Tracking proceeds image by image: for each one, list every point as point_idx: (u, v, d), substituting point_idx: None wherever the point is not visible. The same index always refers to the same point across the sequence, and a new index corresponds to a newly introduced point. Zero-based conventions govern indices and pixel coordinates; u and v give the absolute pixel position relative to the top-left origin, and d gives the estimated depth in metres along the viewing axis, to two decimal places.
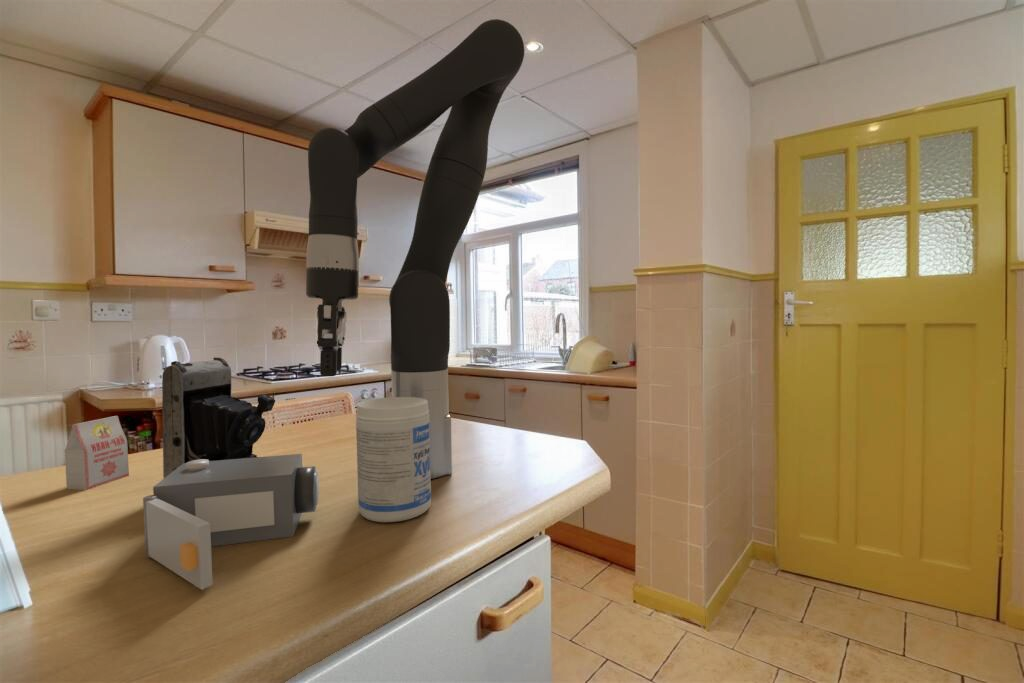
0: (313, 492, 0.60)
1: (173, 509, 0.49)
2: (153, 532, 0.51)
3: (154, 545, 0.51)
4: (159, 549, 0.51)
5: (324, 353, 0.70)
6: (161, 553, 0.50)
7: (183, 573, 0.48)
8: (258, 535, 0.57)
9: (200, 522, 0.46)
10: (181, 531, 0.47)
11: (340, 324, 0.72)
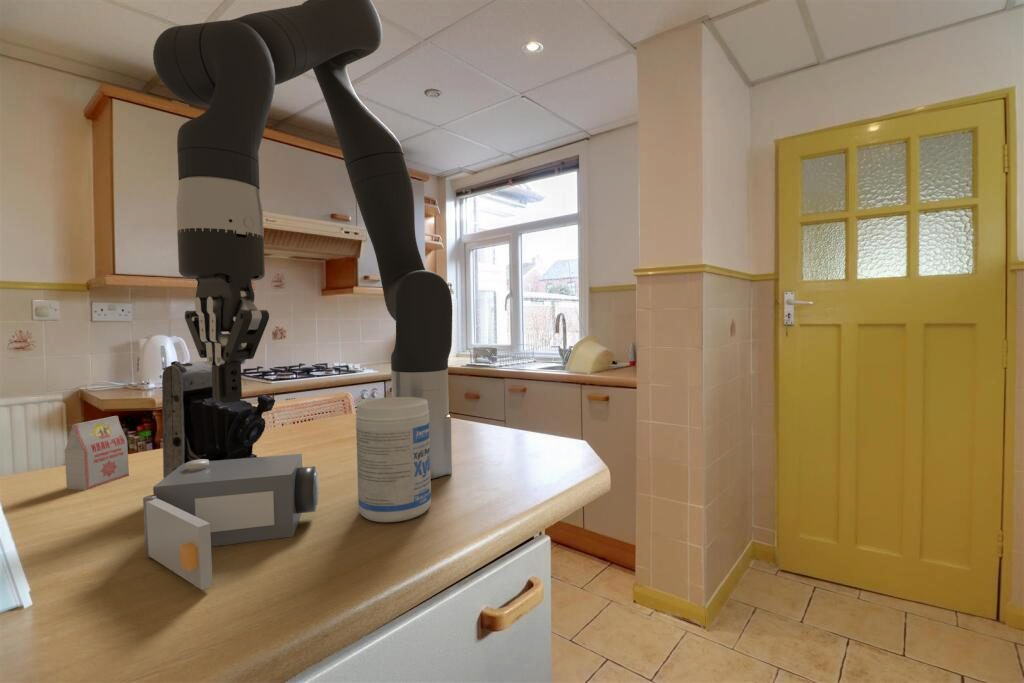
0: (313, 492, 0.60)
1: (173, 509, 0.49)
2: (153, 532, 0.51)
3: (154, 545, 0.51)
4: (159, 549, 0.51)
5: None
6: (161, 553, 0.50)
7: (183, 573, 0.48)
8: (258, 535, 0.57)
9: (200, 522, 0.46)
10: (181, 531, 0.47)
11: None
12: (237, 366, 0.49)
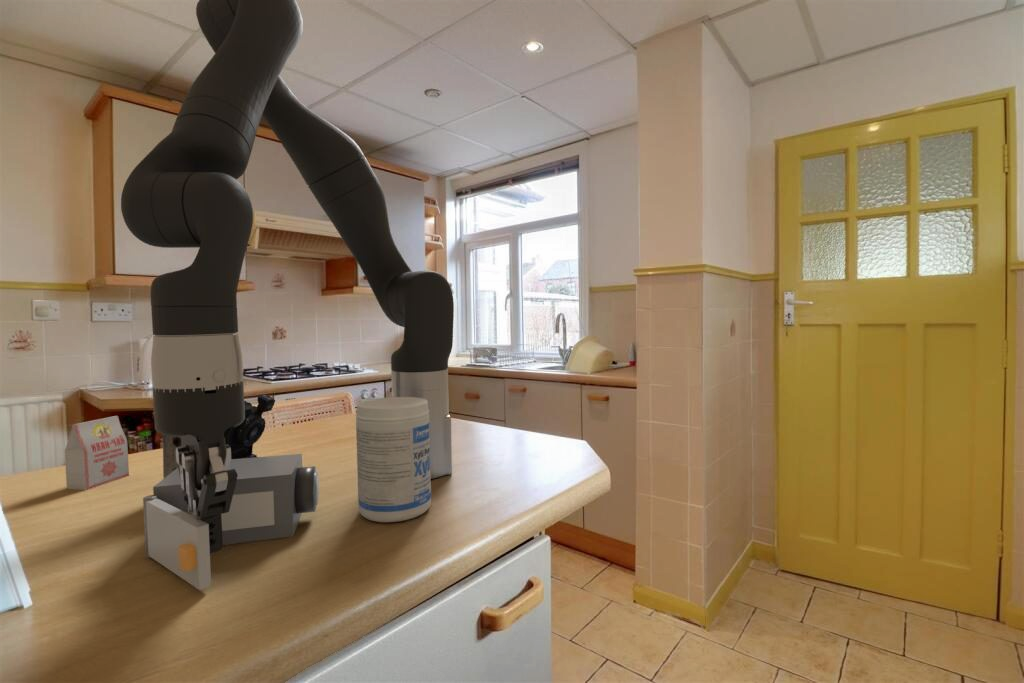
0: (313, 492, 0.60)
1: (173, 510, 0.49)
2: (153, 532, 0.51)
3: (154, 545, 0.51)
4: (159, 549, 0.51)
5: None
6: (161, 553, 0.50)
7: (182, 574, 0.48)
8: (258, 535, 0.57)
9: (199, 523, 0.46)
10: (180, 531, 0.47)
11: None
12: (215, 518, 0.48)
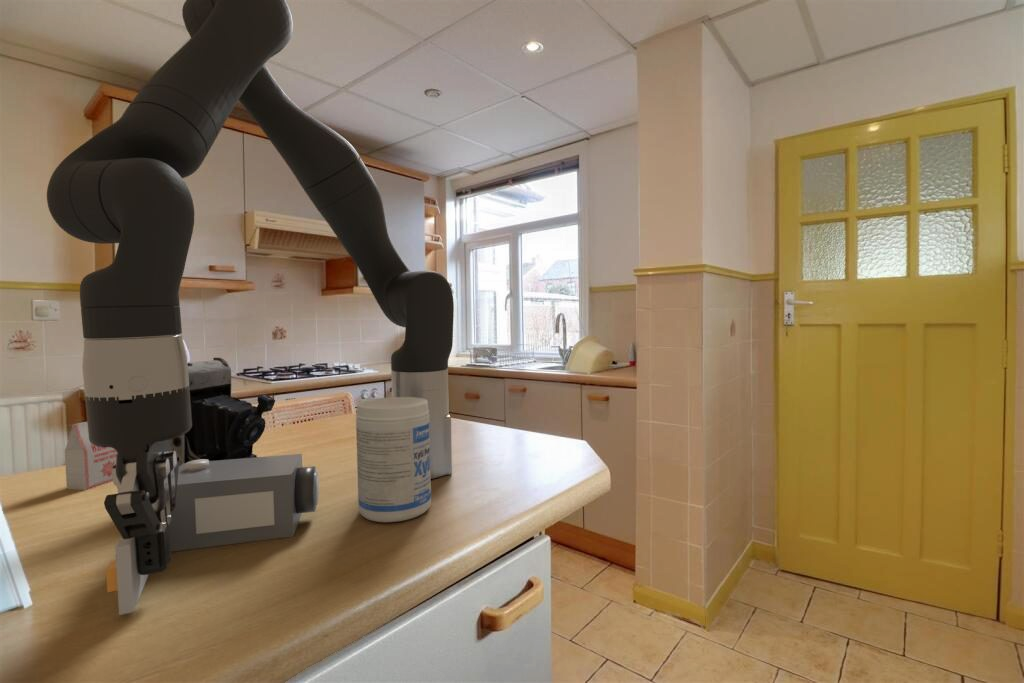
0: (313, 492, 0.60)
1: None
2: None
3: None
4: None
5: None
6: None
7: None
8: (258, 535, 0.57)
9: (125, 541, 0.43)
10: None
11: None
12: (151, 537, 0.44)
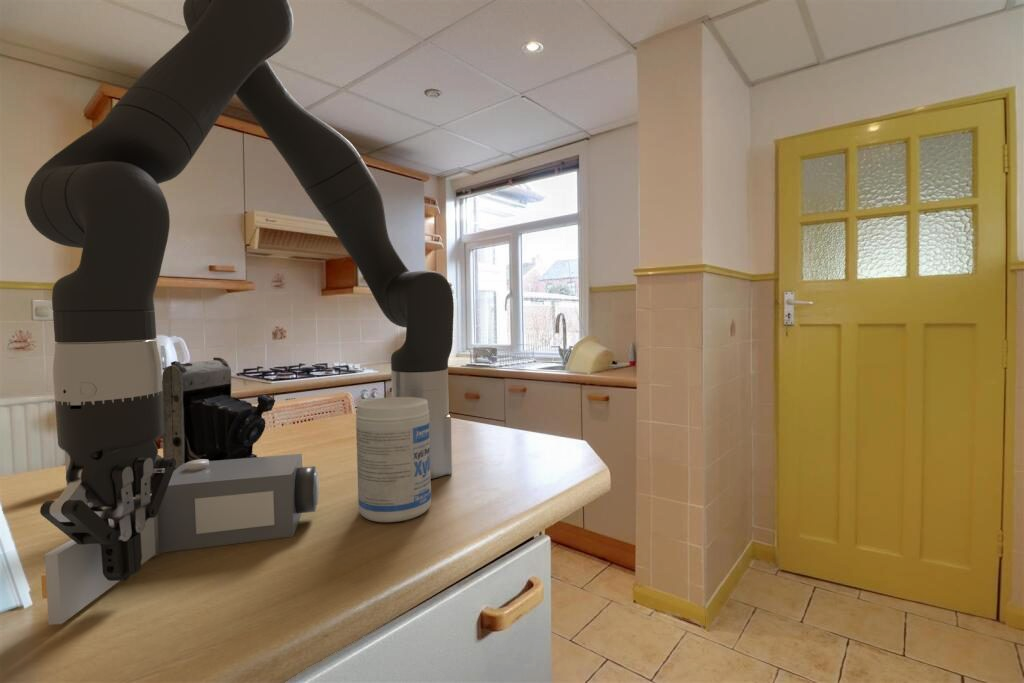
0: (313, 492, 0.60)
1: None
2: None
3: None
4: None
5: (138, 533, 0.46)
6: None
7: None
8: (258, 535, 0.57)
9: (60, 549, 0.41)
10: None
11: None
12: (112, 545, 0.43)
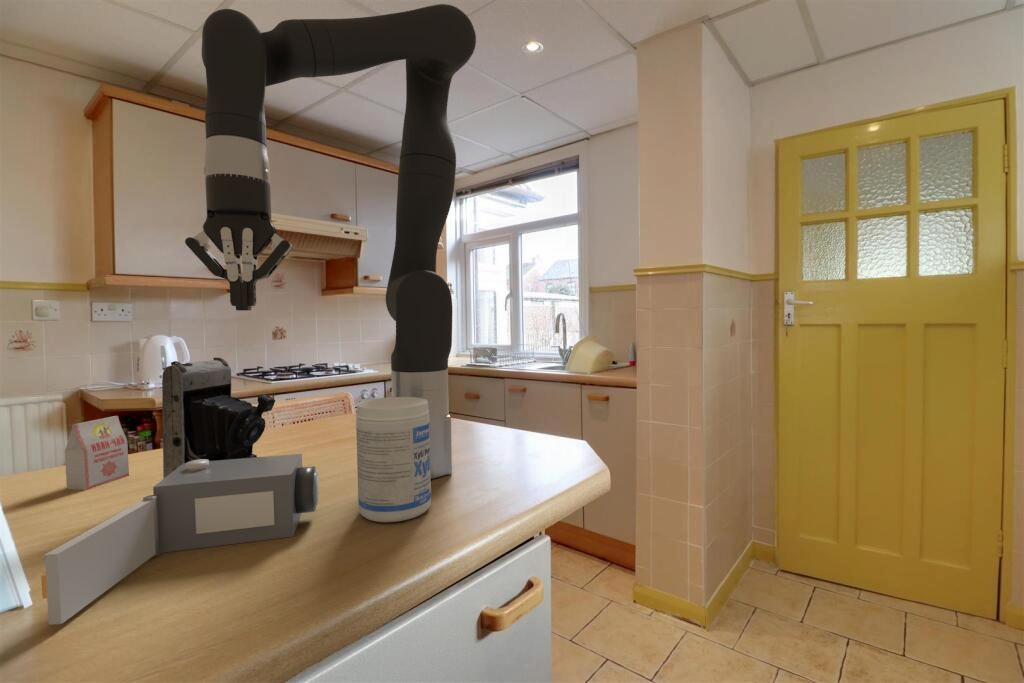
0: (313, 492, 0.60)
1: (111, 520, 0.47)
2: None
3: None
4: None
5: (253, 285, 0.65)
6: None
7: None
8: (258, 535, 0.57)
9: (60, 549, 0.41)
10: None
11: None
12: None
